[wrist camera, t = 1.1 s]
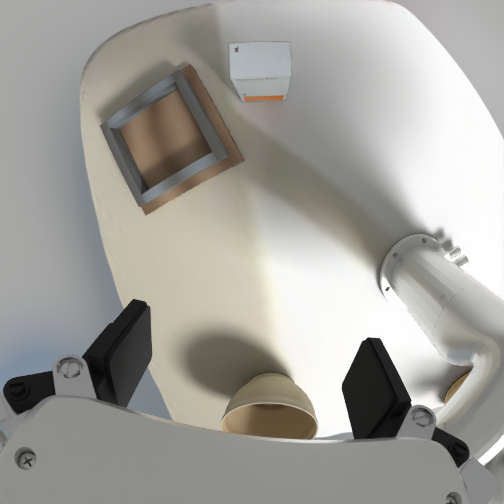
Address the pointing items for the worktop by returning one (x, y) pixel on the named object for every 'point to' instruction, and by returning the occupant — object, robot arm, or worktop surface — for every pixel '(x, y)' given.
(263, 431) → the planter bowl
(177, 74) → the socket stand
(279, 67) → the skincare box
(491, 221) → the worktop surface
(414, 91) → the worktop surface
